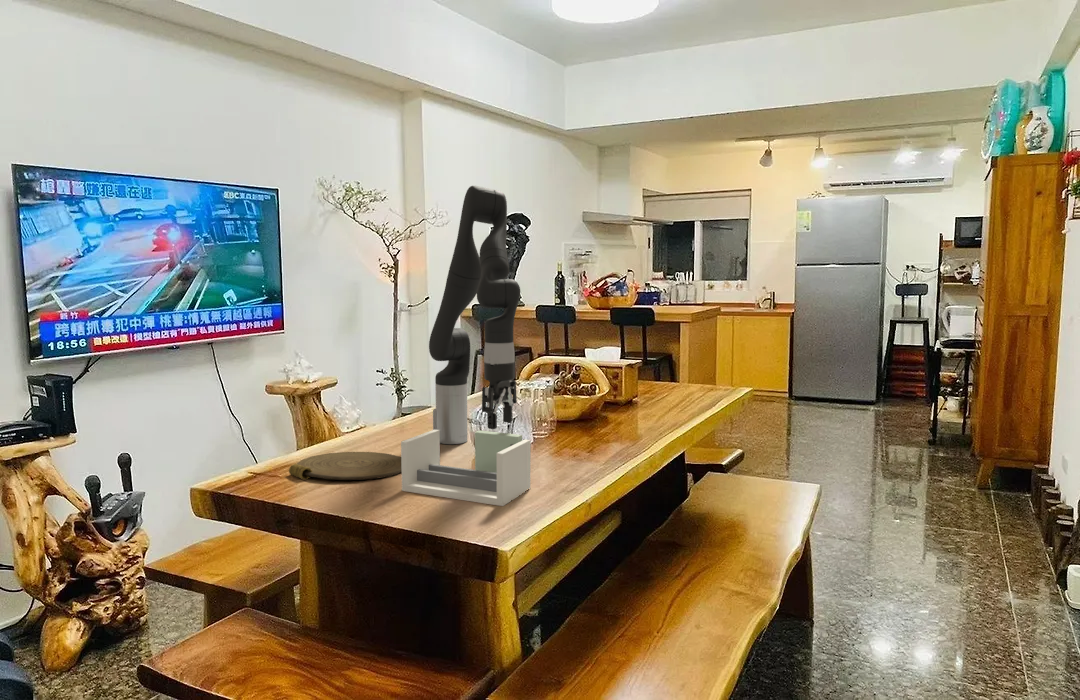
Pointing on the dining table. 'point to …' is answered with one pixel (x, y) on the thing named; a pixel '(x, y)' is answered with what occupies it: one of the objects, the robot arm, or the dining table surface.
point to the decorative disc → (348, 466)
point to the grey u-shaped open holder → (464, 472)
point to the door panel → (491, 448)
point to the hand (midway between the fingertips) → (500, 425)
